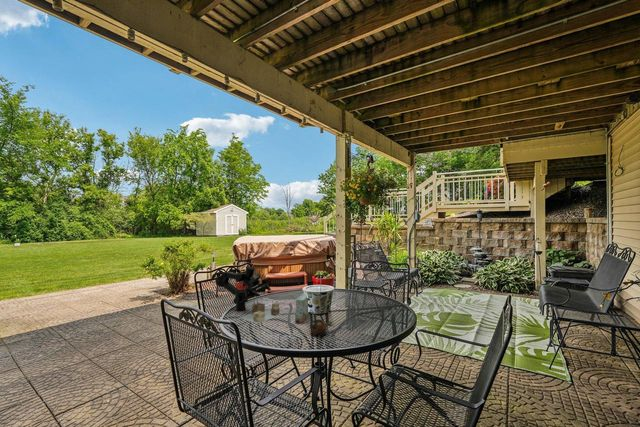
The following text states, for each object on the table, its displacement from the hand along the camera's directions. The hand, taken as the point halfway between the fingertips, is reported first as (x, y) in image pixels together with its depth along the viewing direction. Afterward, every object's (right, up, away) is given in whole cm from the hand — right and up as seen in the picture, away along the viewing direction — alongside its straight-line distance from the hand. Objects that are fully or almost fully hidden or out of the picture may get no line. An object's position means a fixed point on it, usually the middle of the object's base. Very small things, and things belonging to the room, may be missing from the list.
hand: (265, 292), depth 192 cm
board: (-4, -17, +2) cm, 18 cm away
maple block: (-3, -16, -7) cm, 18 cm away
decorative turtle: (+35, -17, -24) cm, 46 cm away
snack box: (+25, -18, +2) cm, 31 cm away
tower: (+6, -16, +6) cm, 18 cm away
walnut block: (-6, -16, +8) cm, 19 cm away
